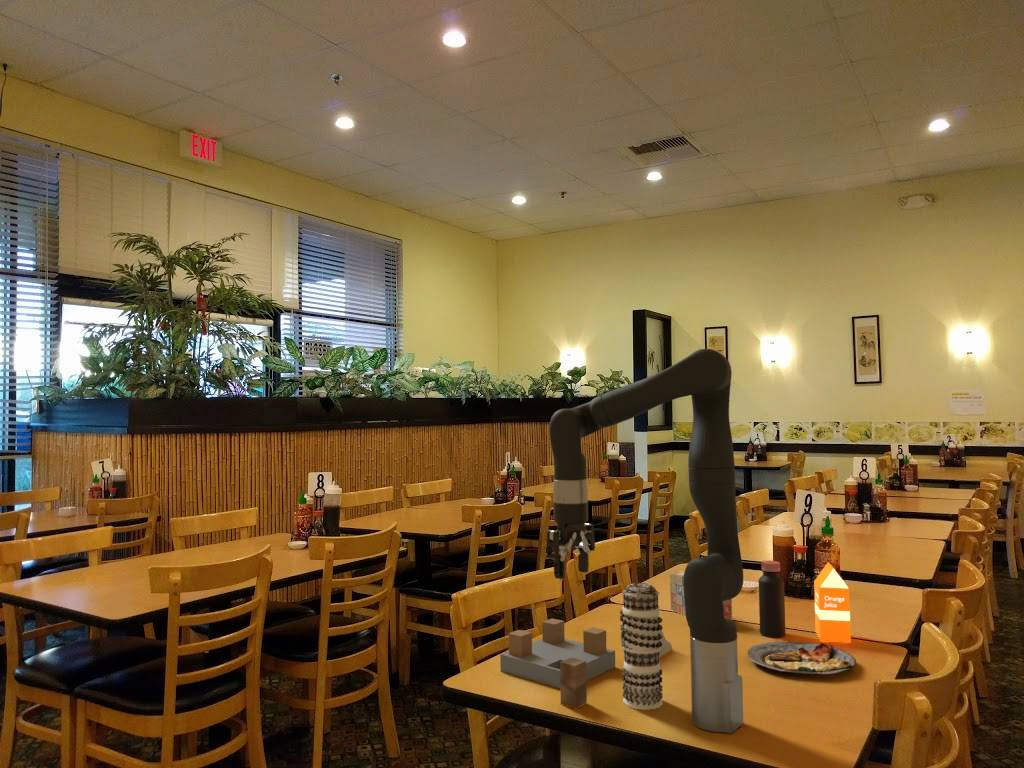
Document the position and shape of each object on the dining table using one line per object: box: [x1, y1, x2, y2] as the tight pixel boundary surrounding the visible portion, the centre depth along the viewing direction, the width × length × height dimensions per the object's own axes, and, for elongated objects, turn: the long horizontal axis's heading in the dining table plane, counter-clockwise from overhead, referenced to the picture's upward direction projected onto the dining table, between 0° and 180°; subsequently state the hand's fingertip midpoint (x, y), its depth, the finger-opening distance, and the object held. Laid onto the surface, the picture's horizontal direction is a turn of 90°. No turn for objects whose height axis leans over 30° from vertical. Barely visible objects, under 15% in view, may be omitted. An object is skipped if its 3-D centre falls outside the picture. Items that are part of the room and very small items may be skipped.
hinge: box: [619, 629, 673, 658], centre depth 193 cm, size 17×5×10 cm, turn 143°
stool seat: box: [499, 617, 616, 690], centre depth 183 cm, size 20×20×9 cm
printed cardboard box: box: [669, 570, 733, 621], centre depth 227 cm, size 21×6×12 cm, turn 25°
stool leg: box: [560, 657, 588, 709], centre depth 161 cm, size 4×4×9 cm
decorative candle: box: [619, 582, 664, 711], centre depth 162 cm, size 9×9×25 cm
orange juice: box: [813, 561, 852, 644], centre depth 205 cm, size 8×9×20 cm
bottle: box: [758, 560, 786, 639], centre depth 209 cm, size 7×7×20 cm
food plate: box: [747, 640, 857, 676], centre depth 185 cm, size 25×23×4 cm
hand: (571, 575), depth 162 cm, fingers open, 8 cm apart
